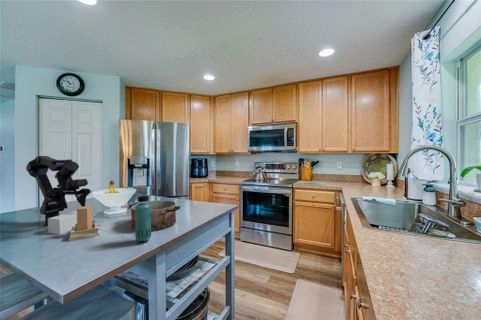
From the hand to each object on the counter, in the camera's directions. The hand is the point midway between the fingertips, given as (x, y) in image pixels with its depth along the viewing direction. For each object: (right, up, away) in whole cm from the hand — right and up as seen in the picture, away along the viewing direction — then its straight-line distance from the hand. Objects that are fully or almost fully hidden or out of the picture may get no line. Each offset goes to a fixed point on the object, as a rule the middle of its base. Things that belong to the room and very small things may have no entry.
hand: (75, 207), depth 99 cm
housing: (+7, -12, -3) cm, 14 cm away
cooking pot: (+35, -12, +10) cm, 38 cm away
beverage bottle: (+39, -12, -12) cm, 43 cm away
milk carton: (-8, -8, -4) cm, 12 cm away
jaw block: (+8, -11, -4) cm, 14 cm away
